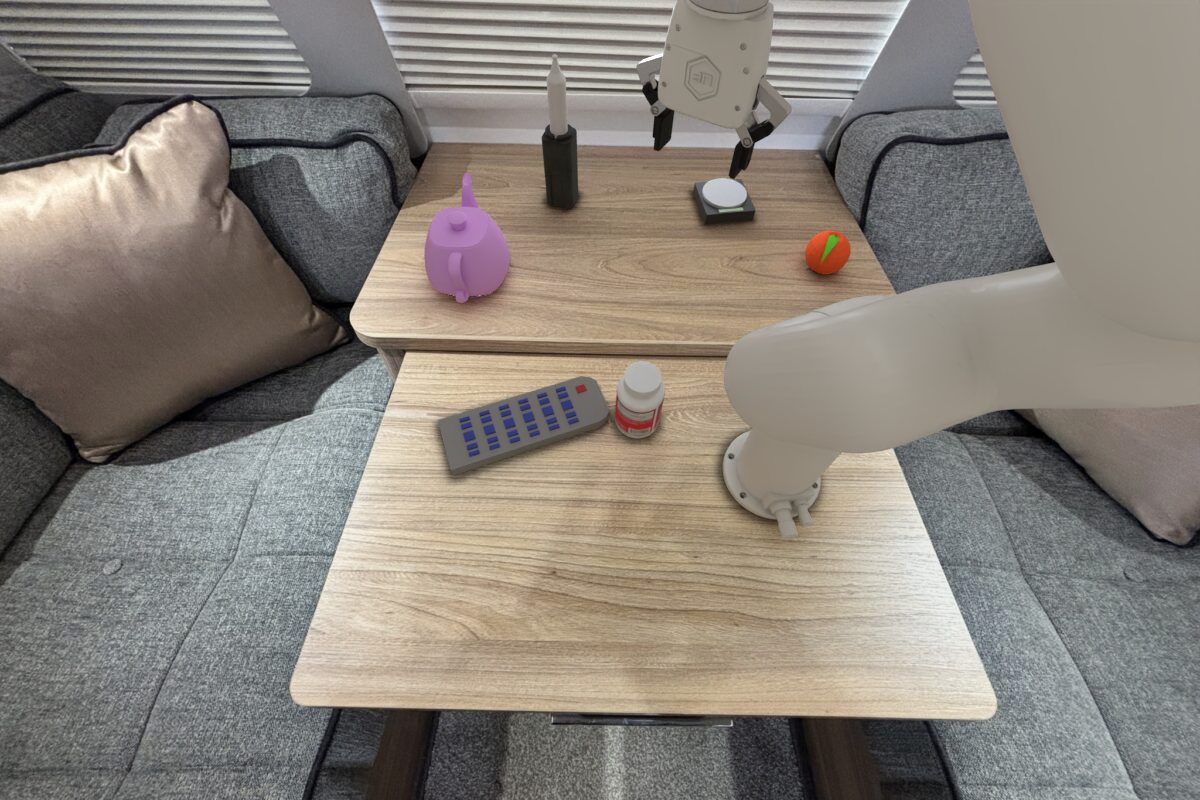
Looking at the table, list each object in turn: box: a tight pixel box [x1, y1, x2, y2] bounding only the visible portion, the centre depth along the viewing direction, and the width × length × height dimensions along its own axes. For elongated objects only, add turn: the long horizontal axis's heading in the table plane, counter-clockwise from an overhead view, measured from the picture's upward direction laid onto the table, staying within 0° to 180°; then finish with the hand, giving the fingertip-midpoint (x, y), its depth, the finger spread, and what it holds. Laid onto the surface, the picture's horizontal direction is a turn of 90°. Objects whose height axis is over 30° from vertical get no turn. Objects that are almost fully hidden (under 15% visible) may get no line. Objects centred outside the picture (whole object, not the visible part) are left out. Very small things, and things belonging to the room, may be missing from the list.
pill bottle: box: [614, 360, 666, 439], centre depth 70 cm, size 6×6×11 cm
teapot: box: [423, 172, 511, 304], centre depth 84 cm, size 20×13×12 cm, turn 1°
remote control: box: [437, 375, 611, 476], centre depth 73 cm, size 8×23×2 cm, turn 111°
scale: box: [692, 177, 757, 226], centre depth 97 cm, size 9×9×3 cm
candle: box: [541, 53, 579, 210], centre depth 88 cm, size 5×5×25 cm
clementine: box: [804, 230, 852, 275], centre depth 87 cm, size 8×7×7 cm
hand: (698, 158), depth 62 cm, fingers open, 9 cm apart
